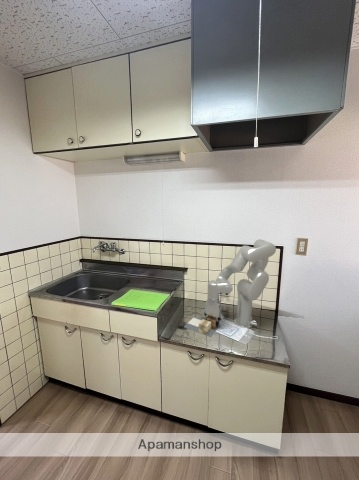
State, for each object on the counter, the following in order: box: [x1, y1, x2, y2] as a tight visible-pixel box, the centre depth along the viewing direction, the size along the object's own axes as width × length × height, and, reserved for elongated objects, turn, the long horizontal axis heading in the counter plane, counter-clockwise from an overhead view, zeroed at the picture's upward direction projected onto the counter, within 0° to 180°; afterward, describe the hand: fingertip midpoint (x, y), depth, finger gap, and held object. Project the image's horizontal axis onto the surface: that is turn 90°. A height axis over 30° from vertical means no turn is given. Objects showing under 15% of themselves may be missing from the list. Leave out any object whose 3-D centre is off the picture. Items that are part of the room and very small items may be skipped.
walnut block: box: [207, 315, 220, 330], centre depth 148 cm, size 6×6×6 cm
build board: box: [183, 316, 221, 338], centre depth 149 cm, size 20×15×1 cm
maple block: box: [199, 318, 211, 336], centre depth 143 cm, size 6×6×6 cm
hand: (212, 323), depth 148 cm, fingers closed on walnut block, 6 cm apart
